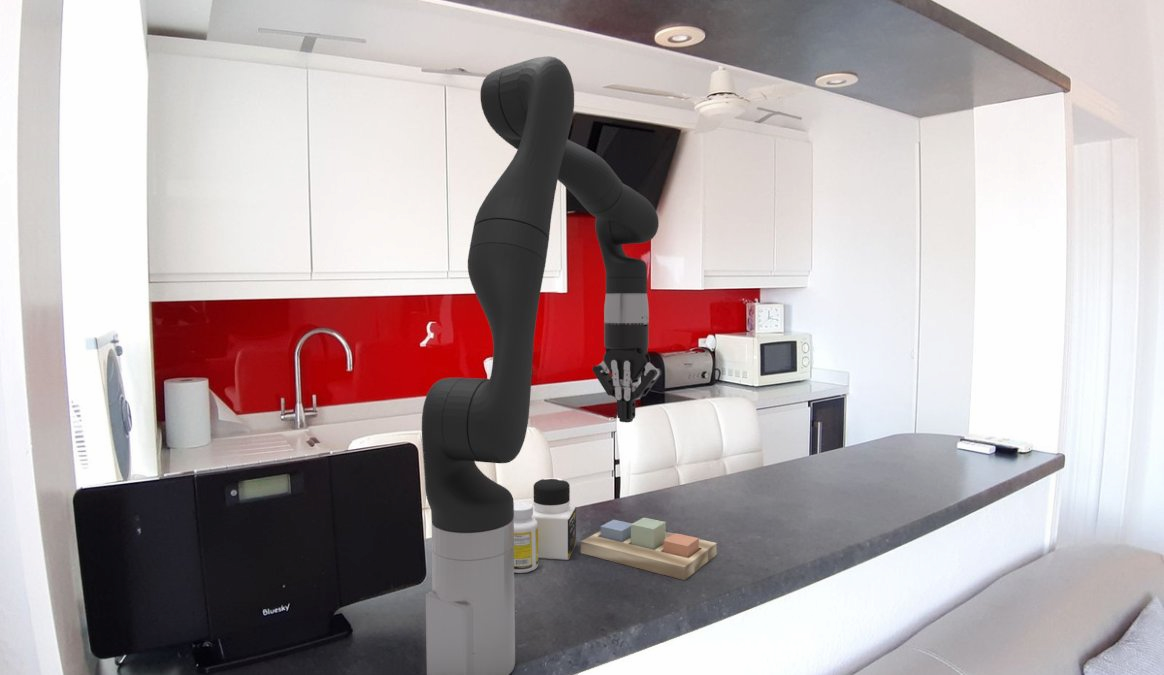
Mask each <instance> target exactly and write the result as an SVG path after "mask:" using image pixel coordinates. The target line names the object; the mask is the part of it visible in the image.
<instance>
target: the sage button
mask: <svg viewBox="0 0 1164 675" xmlns="http://www.w3.org/2000/svg"><path fill="white" fill-rule="evenodd" d="M666 524H667V523H666V521H661V520H657V519H653V518H648V517H645V516H644V517H642V518H640V519H638V520H636V521H634V522H633V523H632V524H631V545H636V546H640V547H644V548H648V549H652V550H655V549H657V548H658V547H660V546H661V545H663V541H664V540H665V539H666V532H667V531H666Z"/></svg>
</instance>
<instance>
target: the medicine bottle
mask: <svg viewBox="0 0 1164 675" xmlns="http://www.w3.org/2000/svg"><path fill="white" fill-rule="evenodd" d="M570 486H571V485H570V483H569V481H567V480H564V479H563V478H557V477H548V478H542V479H539V480H537V481H536V482H534V484H533V515H532V517H533V518H535V519H536V520H537V523H538V559H547V560H562V561H568V560H570V558H571V555H572V553H573V552H574V549H575V547H576V545H577V506H576V504H570V503H571V498H570V496H571V492H570V490H571V489H570V488H571V487H570Z"/></svg>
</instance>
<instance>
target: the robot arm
mask: <svg viewBox="0 0 1164 675" xmlns="http://www.w3.org/2000/svg"><path fill="white" fill-rule="evenodd" d="M573 82H574V81H573V79H572V76H571V72H570V71H569V69H568V67H567V65H566V64H565V63H564V61H562V60H561V59H560V58H557V57H556V56H554V57H553V56H550V55H549V56H540V57H533V58H530V59H527V60H524V61H520V62H516V63H513V64H510V65H507V66H504V67H501V68H498V69H496V70H494V71H491V72H490V73H489V74H487V75H486V77H485V78H484V79H483V81H482V84H481V87H480V91H479V92H480V98H479V99H480V105H481V110H482V111H483V112H482V113H483V115H484V117H485V120H486V121H487V123H488V125H489V126H490V128H491V129H492V130H493V131H494V132H495V134H497V135H498V136H499V137H500V138H501V139H502V140H504V141H505V142H506V143H507V144H509V145H510V146H511V147H513V148H514V149H516V152H515V154H514V156H513V158H512V159H511V161H510V163H509V164H508V166H507V167H506V168H505V170H503V173H502V174H501V175H500V177H499V178H498V179H497V181H496V182H495V184H493V186H492V188H491V189H490V191H489V192H488V193H487V194H486V197H485V198H484V200H483V202H481V203H482V204H481V205H480V207H479V209H478V210H477V214H476V215H475V218H474V219H475V220H474V223H473V229H472V234H471V237H470V238H471V239H470V244H469V250H468V257H467V272H468V273H467V274H468V276H469V280H470V284H471V286H472V288H473V291H474V293H475V295H476V298H477V300H478V302H479V304H480V306H481V308H482V310H483V313H484V314H485V317H486V320H487V323H488V325H489V328H490V331H491V332H490V333H491V337H492V344H493V345H492V346H493V348H492V349H493V351H492V352H493V354H492V366H491V372H490V377H489V378H475V377H467V378H466V377H446V378H445V377H444V378H441V379H439V380H437V381H436V382H434V383H433V384H432V386H431V387H430V388H429V390H428V391H427V395H426V396H425V399H424V403H423V407H422V413H421V414H422V415H421V443H422V456H423V471H424V472H423V473H424V486H425V488H424V489H425V496H426V500H427V504H428V505H429V508H430V511H431V512H430V515H431V516H430V517H431V569H432V571H431V572H432V573H431V574H432V575H431V576H432V578H431V581H432V582H431V583H432V590H430V591H429V592H427V593H426V594H425V635H426V636H425V638H426V640H425V641H426V649H425V650H426V675H510V674H511V673H513V671H514V668H515V666H516V630H515V629H516V628H515V627H516V626H515V624H516V623H515V622H516V621H515V620H516V619H515V618H516V617H515V610H516V609H515V608H516V607H515V573H514V503H515V502H514V501H515V500H514V498H513V495H512V493H511V492H510V490H509V489H507V488H506V487H505V486H503V485H501V484H499V483H498V482H496V481H495V480H492V479H491V478H489V476H487V475H486V474H484V473H483V472H482V471H481V469H480V468H479V467H478V466H477V463H476V462H480V463H491V464H508V463H510V462H513V460H515V459H516V458H517V457H518V455H519V454H520V452H521V450H522V447H523V446H524V442H525V439H526V437H527V430H528V424H529V417H530V407H531V406H530V405H531V390H532V389H531V388H532V377H533V375H532V374H533V356H534V343H535V333H536V325H537V324H536V323H537V318H538V317H537V316H538V309H539V304H540V296H541V290H542V284H543V279H544V275H545V274H544V273H545V270H546V262H547V256H548V248H549V241H550V234H551V232H550V231H551V222H552V215H553V208H554V203H555V195H556V192H557V185H558V182H560V183H561V184H562V185H563V187H566V189H567V190H568V191H569V192H570V193H571V194H572V195H573V196H574V197H575V199H576V200H577V201H578V202H579V203H580V204H581V205H582V207H583V208H584V209H585V210H586V211H587V212H588V213H589V214H590V215H592V216H593V217H594V218H595V221H594V227H595V228H594V229H595V233H596V238H597V241H598V246H599V248H600V252H601V256H602V257H601V258H602V260H603V265H604V269H605V300H604V310H603V312H604V313H603V314H604V317H603V318H604V320H603V321H604V322H603V323H604V324H603V325H604V326H603V327H604V330H603V334H604V338H603V339H604V340H603V342H604V343H603V344H604V348H605V352H604V355H603V360H602V361H601V363H599V364H597V365H594V366H592V368H591V369H592V372H593V373H594V375H595V377H596V379H597V380H598V382H599V384H600V385H601V386H602V387H603V388H602V389H604V391H605V393H606V394H607V396H611V397H613V398H615V399H616V411H617V412H616V416H617V419H619V422H620V423H626V424H627V423H628V424H629V423H632V422H633V420H634V419H635V417H636V401H637V399H638V398H643V397H646V395H647V394H648V393H649V392H650V390H651V388H652V387H653V386H654V385H655V383H656V382H657V380H659V378H660V376H661V375H662V371H663V370H662V369H661V368H656V367H655V366H654V365H653V363H651V358H650V356H649V353H648V348H649V345H650V344H649V329H650V328H649V324H650V322H649V319H650V313H649V311H650V310H649V300H648V266H647V263H646V262H645V260H643V259H640V258H635V257H630V256H627V254H626V252H625V250H624V248H623V245H631V244H633V245H635V244H645V243H649V242H650V241H652V240H653V239H654V237H655V236H656V234H658V230H659V222H660V221H659V216H658V213H657V211H656V208H655V207H654V206H653V204H652V203H651V202H650V201H649V200H648V199H647V197H645V196H644V195H642V194H641V193H639V192H637V190H635V189H633V188H632V187H630V186H628V185H627V184H625V183H623V182H622V180H621V178H619V177H618V175H617V173H616V172H615V171H614V170H613V168H612V167H611V166H610V165H609V163H607V162H606V160H604V159H603V157H601V156H600V155H598V154H597V153H595V152H593V151H592V150H590V149H589V148H586V147H585V146H582V145H580V144H578V143H576V142H574V141H571V140H570V139H569V135H570V131H571V126H572V122H573V117H574V109H575V90H574V83H573ZM642 375H643V376H644V377H643V379H641V377H642ZM640 380H641V381H640Z"/></svg>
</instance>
